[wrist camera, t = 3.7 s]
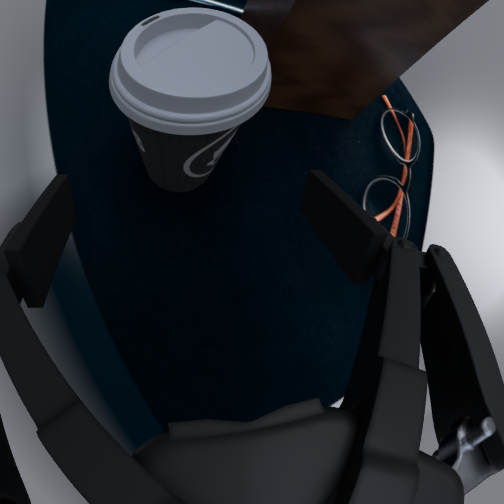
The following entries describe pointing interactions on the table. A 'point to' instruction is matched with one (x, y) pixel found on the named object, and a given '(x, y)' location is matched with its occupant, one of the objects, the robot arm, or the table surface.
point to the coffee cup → (188, 90)
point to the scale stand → (346, 47)
